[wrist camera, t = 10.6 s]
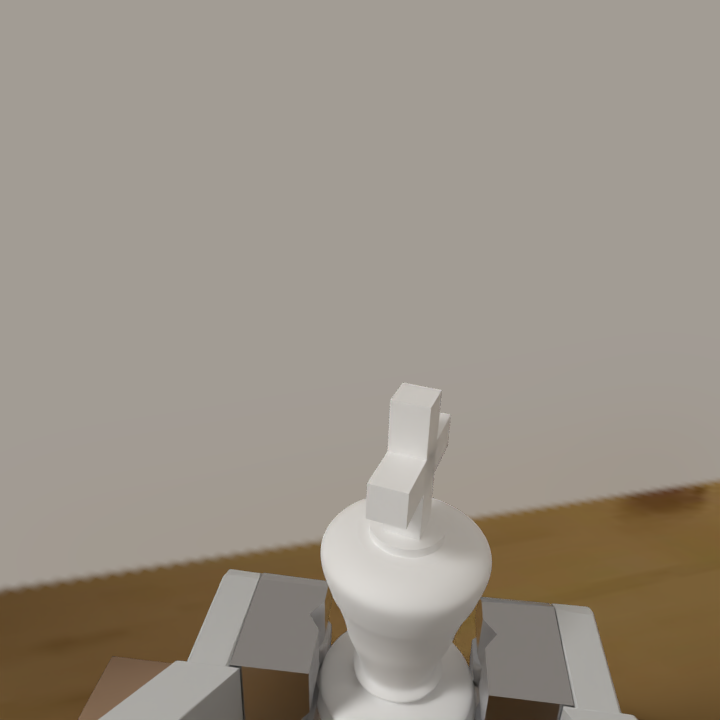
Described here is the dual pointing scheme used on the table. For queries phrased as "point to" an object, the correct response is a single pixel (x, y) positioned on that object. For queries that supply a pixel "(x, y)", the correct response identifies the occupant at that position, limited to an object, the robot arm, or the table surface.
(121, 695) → the socket board
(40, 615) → the table surface
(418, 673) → the chess piece
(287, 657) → the robot arm
